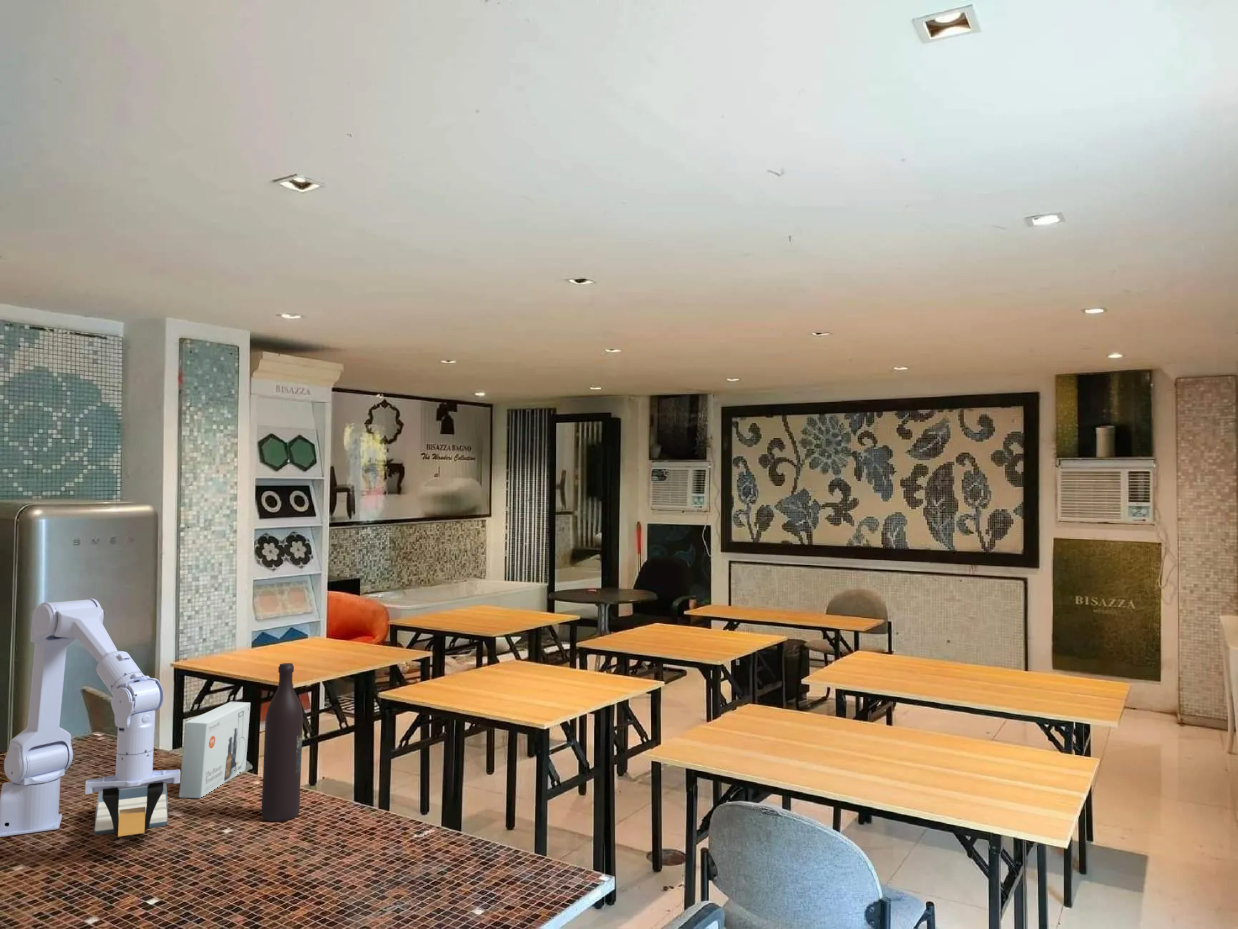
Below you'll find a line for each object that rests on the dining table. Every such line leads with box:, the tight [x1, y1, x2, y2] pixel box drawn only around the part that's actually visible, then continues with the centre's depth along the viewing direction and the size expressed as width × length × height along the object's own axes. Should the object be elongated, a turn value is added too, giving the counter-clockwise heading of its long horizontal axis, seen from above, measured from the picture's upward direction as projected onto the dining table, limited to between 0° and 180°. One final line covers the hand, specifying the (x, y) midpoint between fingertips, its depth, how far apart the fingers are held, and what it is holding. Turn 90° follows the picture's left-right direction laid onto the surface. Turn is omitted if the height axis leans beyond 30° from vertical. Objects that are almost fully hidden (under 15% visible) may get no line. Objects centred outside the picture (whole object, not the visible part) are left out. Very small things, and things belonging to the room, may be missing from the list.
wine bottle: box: [261, 662, 304, 823], centre depth 173 cm, size 7×7×30 cm
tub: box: [93, 784, 169, 837], centre depth 170 cm, size 12×14×4 cm
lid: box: [94, 794, 168, 837], centre depth 158 cm, size 11×18×4 cm, turn 29°
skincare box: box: [178, 701, 251, 799], centre depth 192 cm, size 21×6×16 cm, turn 179°
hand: (131, 829), depth 151 cm, fingers closed on lid, 4 cm apart
